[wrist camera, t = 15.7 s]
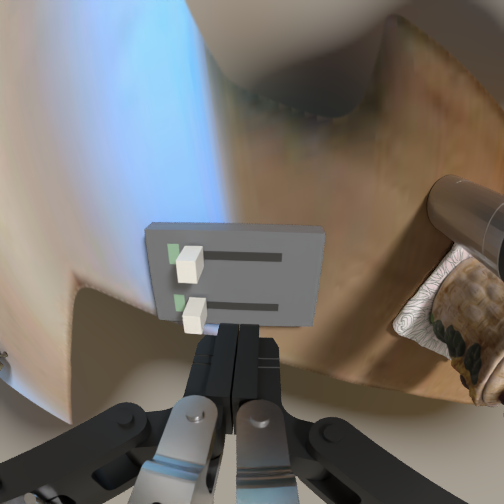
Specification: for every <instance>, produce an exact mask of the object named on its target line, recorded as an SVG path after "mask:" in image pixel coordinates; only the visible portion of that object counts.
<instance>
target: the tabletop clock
mask: <svg viewBox="0 0 504 504" xmlns="http://www.w3.org/2000/svg"><path fill="white" fill-rule="evenodd" d="M2 356H4V357H6V356H7V353H6V352H3V354H2V355H0V357H2ZM2 367H3V364H2V363H1V362H0V370H1V369H2Z"/></svg>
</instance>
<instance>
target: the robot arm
mask: <svg viewBox="0 0 504 504" xmlns="http://www.w3.org/2000/svg"><path fill="white" fill-rule="evenodd" d="M427 211H428V216H429V219H430V221H431V223H432V225H433V226H434V227H435V228H437V229H438V230H439V231H441V232H442V233H443V234H445V235H446V236H447V237H448V238H450V239H451V240H452V241H454V242H455V243H456V244H458V245H459V246H460V247H462V248H463V249H464V250H465V251H467V252H468V253H469V254H470V255H472V256H473V257H474V258H475V259H477V260H478V261H479V262H480V263H482V264H483V265H484V266H485V267H486V268H488V269H489V270H490V271H491V272H492V273H494V274H495V275H496V276H497V277H498V278H499V279H500V280H502V281H503V282H504V195H502V194H500V193H498V192H495V191H493V190H491V189H488V188H486V187H483V186H481V185H479V184H476V183H474V182H471V181H469V180H466V179H463V178H461V177H458V176H454V175H447V176H444V177H442V178H441V179H439V180H438V181H437V182H436V183H435V184H434V186H433V188H432V189H431V192H430V194H429V197H428V203H427ZM233 424H234V434H236V435H237V436H236V446H237V447H236V448H237V450H236V451H237V452H236V453H237V475H236V499H237V501H236V504H300V503H299V497H298V489H297V482H296V478H295V476H298V478H299V479H300V480H301V481H302V482H303V483H304V484H306V486H308V488H310V489H311V490H312V491H313V492H314V493H315V494H316V495H318V496H319V497H320V498H321V499H322V500H323V501H325V502H326V503H327V504H468V503H467V502H465V501H463V500H461V499H460V498H458V497H456V496H454V495H453V494H451V493H450V492H448V491H446V490H445V489H443V488H441V487H440V486H438V485H437V484H435V483H433V482H432V481H430V480H429V479H427V478H425V477H424V476H422V475H421V474H419V473H418V472H416V471H415V470H413V469H412V468H410V467H409V466H407V465H406V464H404V463H403V462H402V461H400V460H399V459H397V458H396V457H394V456H393V455H392V454H390V453H389V452H387V451H386V450H385V449H383V448H382V447H380V446H379V445H378V444H376V443H375V442H374V441H372V440H371V439H369V438H368V437H367V436H365V435H364V434H363V433H361V432H360V431H359V430H357V429H356V428H355V427H353V426H352V425H351V424H350V423H348V422H347V421H345V420H343V419H341V418H336V417H327V418H323V419H320V420H319V421H317V422H316V423H312V422H308V421H304V420H300V419H297V418H295V417H293V416H291V415H290V414H289V413H287V412H286V410H285V409H284V407H283V406H282V403H281V384H280V362H279V347H278V345H277V344H276V342H275V341H274V339H273V338H259V324H240V331H239V324H235V323H220V325H219V329H218V334H217V336H214V335H205V337H204V338H203V339H202V340H201V341H200V342H199V343H198V345H197V349H196V353H195V356H194V360H193V364H192V367H191V371H190V375H189V378H188V382H187V386H186V389H185V393H184V396H183V398H182V399H180V400H179V401H178V402H177V403H176V404H175V405H174V407H172V408H170V409H167V410H162V411H153V412H145V411H144V410H143V409H142V408H141V407H140V406H138V405H136V404H134V403H128V402H125V403H119V404H117V405H115V406H113V407H111V408H109V409H108V410H106V411H104V412H102V413H100V414H98V415H97V416H95V417H93V418H91V419H90V420H88V421H86V422H84V423H82V424H80V425H78V426H76V427H74V428H73V429H71V430H69V431H67V432H65V433H63V434H61V435H59V436H57V437H56V438H53V439H52V440H50V441H47V442H45V443H43V444H41V445H39V446H37V447H35V448H33V449H31V450H29V451H27V452H24V453H22V454H20V455H18V456H16V457H14V458H11V459H9V460H7V461H5V462H2V463H0V504H102V503H105V502H106V501H108V500H110V499H112V498H113V497H115V496H117V495H119V494H120V493H122V492H124V491H125V490H127V489H129V488H130V487H132V486H134V488H133V491H132V493H131V496H130V498H129V501H128V504H213V503H214V501H213V499H214V492H215V488H216V483H217V478H218V474H219V469H220V465H221V460H222V455H223V449H224V443H225V434H232V433H233Z"/></svg>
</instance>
